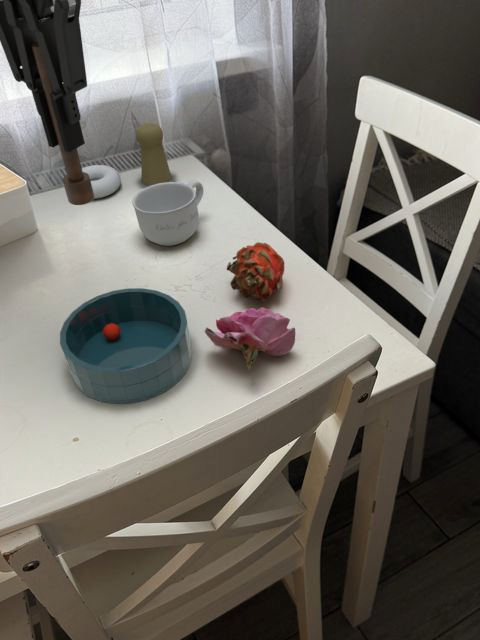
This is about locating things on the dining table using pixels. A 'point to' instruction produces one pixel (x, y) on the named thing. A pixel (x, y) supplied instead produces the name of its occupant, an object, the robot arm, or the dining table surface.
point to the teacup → (168, 211)
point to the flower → (254, 333)
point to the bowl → (127, 345)
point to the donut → (103, 179)
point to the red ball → (111, 331)
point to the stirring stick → (75, 179)
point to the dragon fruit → (257, 271)
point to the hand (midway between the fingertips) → (66, 144)
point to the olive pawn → (152, 155)
